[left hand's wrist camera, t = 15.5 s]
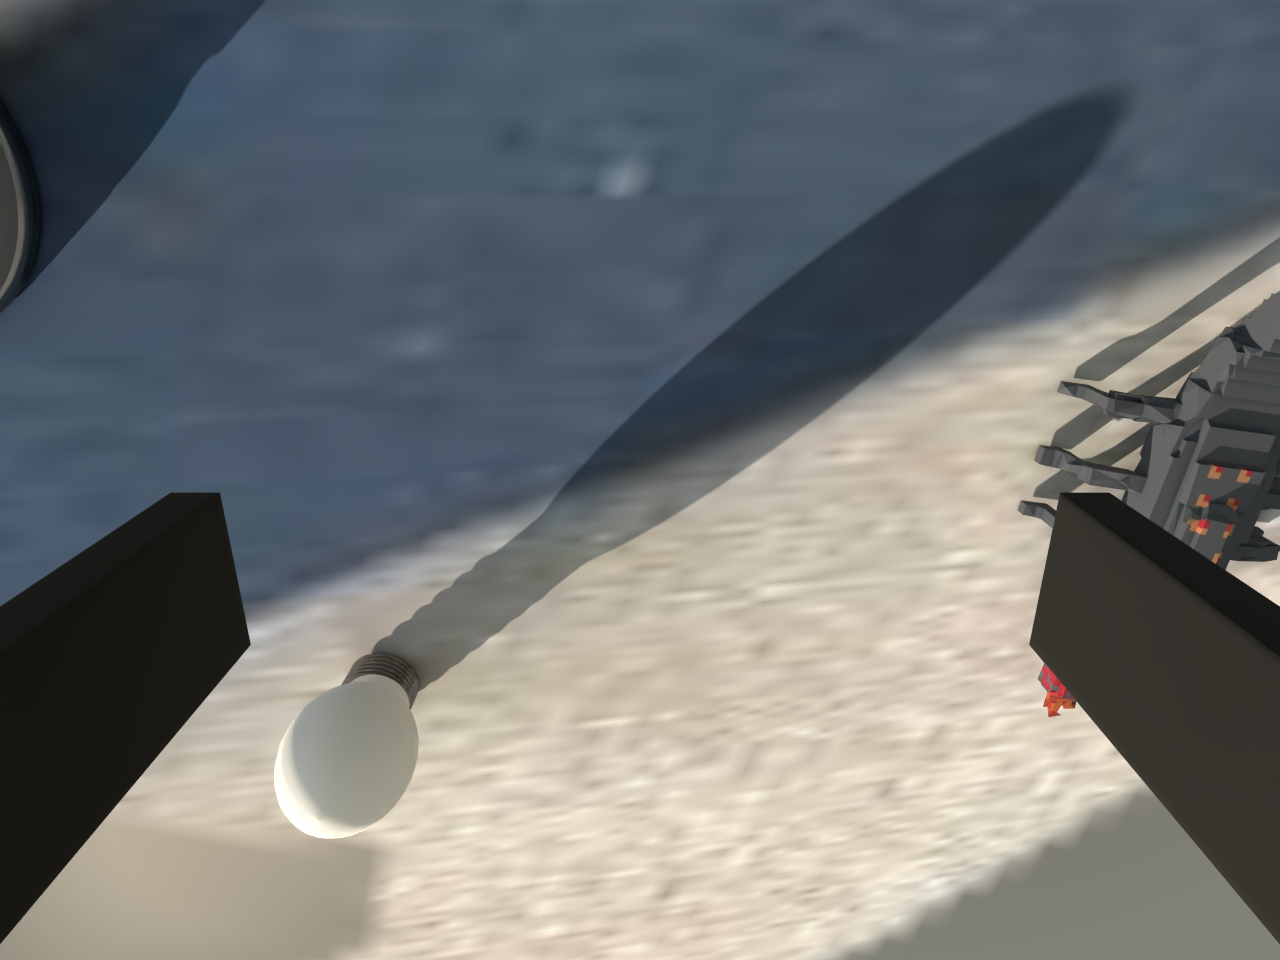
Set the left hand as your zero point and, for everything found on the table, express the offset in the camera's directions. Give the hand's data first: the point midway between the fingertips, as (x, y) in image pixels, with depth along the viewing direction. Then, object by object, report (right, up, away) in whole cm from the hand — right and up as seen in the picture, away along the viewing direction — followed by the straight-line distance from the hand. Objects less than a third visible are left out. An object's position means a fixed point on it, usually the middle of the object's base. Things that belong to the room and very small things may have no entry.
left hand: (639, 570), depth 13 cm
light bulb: (-15, -10, +35) cm, 39 cm away
